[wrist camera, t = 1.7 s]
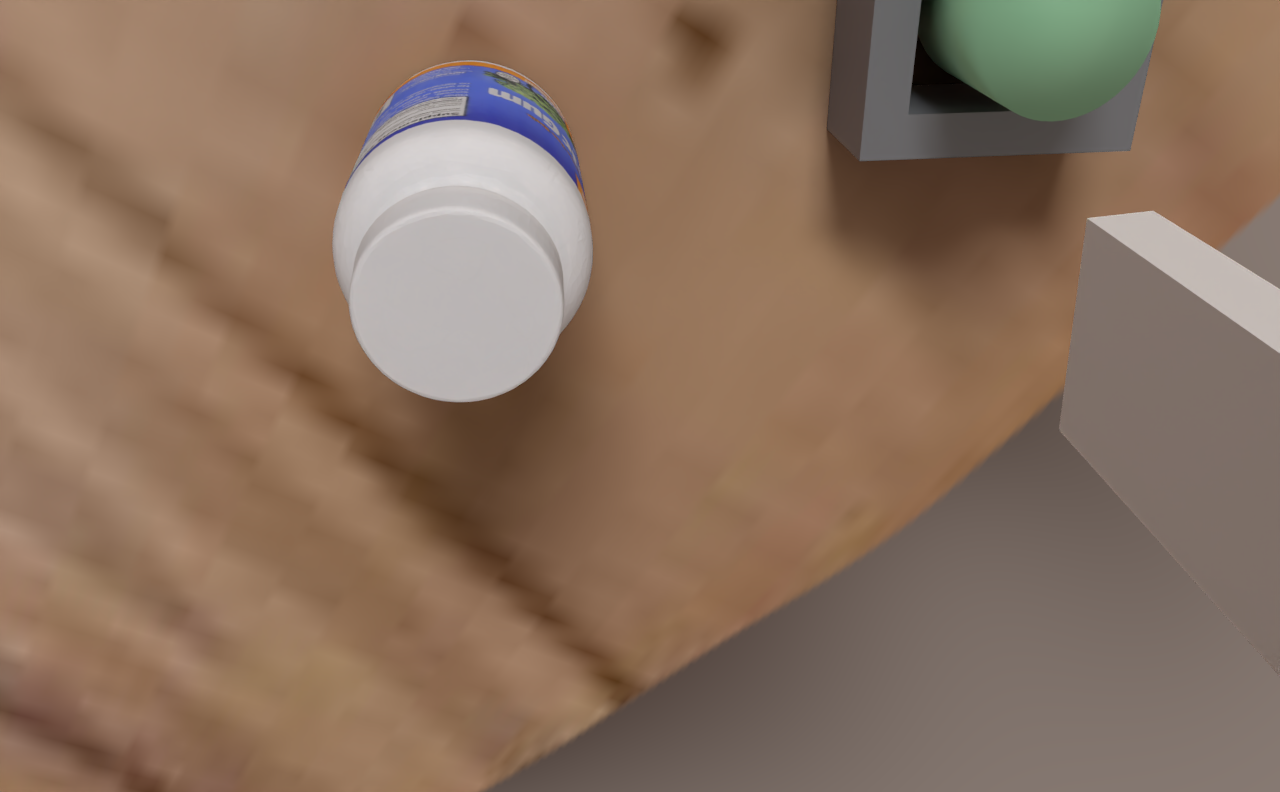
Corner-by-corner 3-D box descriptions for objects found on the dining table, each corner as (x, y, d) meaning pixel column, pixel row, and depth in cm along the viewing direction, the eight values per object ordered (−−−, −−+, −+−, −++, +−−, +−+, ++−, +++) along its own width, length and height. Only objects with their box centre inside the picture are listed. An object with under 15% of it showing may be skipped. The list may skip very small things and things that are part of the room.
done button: (905, 83, 27) (965, 124, 24) (924, -91, 25) (993, -73, 22) (1057, 78, 28) (1138, 118, 24) (1087, -93, 26) (1180, -77, 22)
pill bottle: (612, 194, 29) (660, 354, 21) (444, 291, 30) (424, 482, 22) (504, 12, 27) (508, 109, 18) (323, 123, 28) (247, 266, 19)
